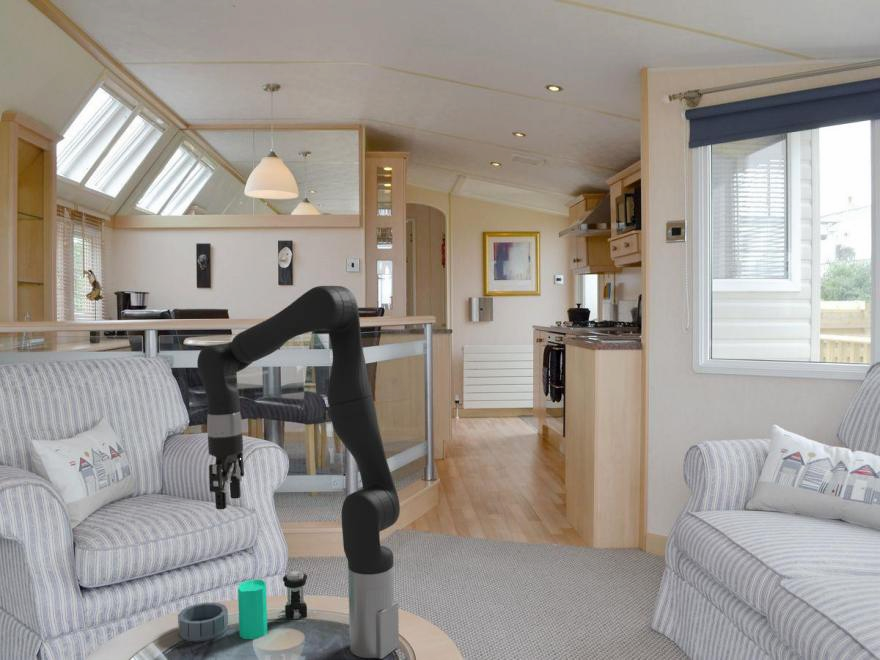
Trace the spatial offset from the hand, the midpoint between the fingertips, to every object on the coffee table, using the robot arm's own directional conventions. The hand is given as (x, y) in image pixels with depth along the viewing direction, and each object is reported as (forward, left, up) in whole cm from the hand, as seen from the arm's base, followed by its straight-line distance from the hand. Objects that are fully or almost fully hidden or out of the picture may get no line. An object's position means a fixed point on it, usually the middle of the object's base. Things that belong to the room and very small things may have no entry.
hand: (228, 503), depth 171 cm
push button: (-14, -5, -25) cm, 29 cm away
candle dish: (-2, +10, -25) cm, 27 cm away
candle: (-12, +5, -25) cm, 29 cm away
